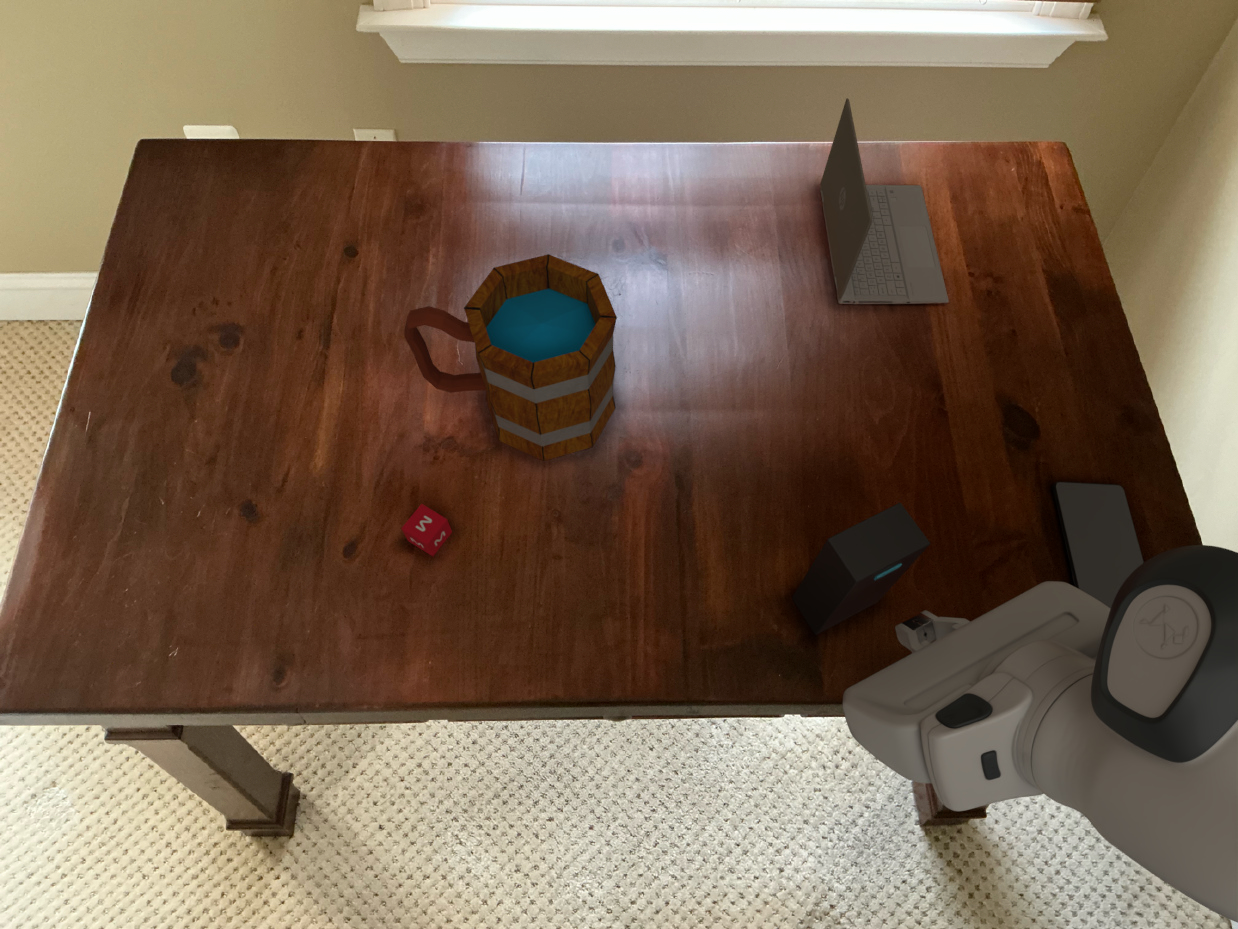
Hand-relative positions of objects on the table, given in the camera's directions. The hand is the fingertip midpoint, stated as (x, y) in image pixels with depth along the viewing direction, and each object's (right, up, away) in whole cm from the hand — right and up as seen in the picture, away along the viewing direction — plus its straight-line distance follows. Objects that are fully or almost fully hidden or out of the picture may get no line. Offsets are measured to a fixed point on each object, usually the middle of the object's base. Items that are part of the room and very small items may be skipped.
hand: (910, 625), depth 66 cm
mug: (-34, +19, +20) cm, 44 cm away
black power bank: (-3, 0, +10) cm, 11 cm away
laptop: (+7, +38, +31) cm, 50 cm away
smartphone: (+22, +4, +13) cm, 26 cm away
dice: (-41, +6, +13) cm, 44 cm away
